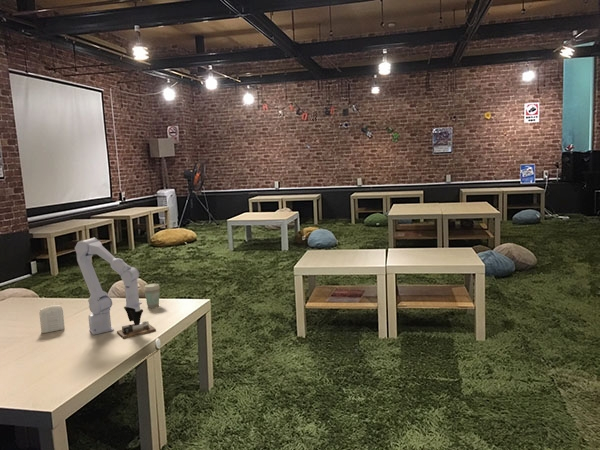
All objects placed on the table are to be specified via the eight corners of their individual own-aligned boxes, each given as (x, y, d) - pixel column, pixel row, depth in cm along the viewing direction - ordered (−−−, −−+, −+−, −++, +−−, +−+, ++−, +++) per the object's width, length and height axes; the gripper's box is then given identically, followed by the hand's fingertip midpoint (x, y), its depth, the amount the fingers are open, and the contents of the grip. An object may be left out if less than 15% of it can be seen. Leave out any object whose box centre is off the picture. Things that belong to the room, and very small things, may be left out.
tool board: (123, 338, 229) (122, 332, 228) (117, 332, 237) (116, 326, 237) (155, 330, 237) (155, 324, 237) (148, 325, 246) (148, 319, 245)
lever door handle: (124, 333, 232) (123, 328, 232) (122, 331, 235) (121, 326, 235) (150, 327, 239) (149, 322, 239) (147, 326, 242) (147, 320, 241)
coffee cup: (151, 309, 272) (149, 288, 270) (142, 307, 277) (140, 286, 275) (164, 305, 278) (162, 284, 277) (155, 303, 284) (153, 282, 282)
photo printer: (64, 327, 249) (61, 302, 248) (65, 329, 246) (62, 304, 244) (40, 331, 244) (37, 307, 242) (42, 334, 240) (39, 309, 238)
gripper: (145, 295, 231) (148, 324, 233) (135, 289, 243) (138, 317, 244) (130, 298, 227) (132, 328, 229) (120, 292, 239) (123, 320, 240)
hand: (134, 322), depth 236 cm, fingers open, 7 cm apart
